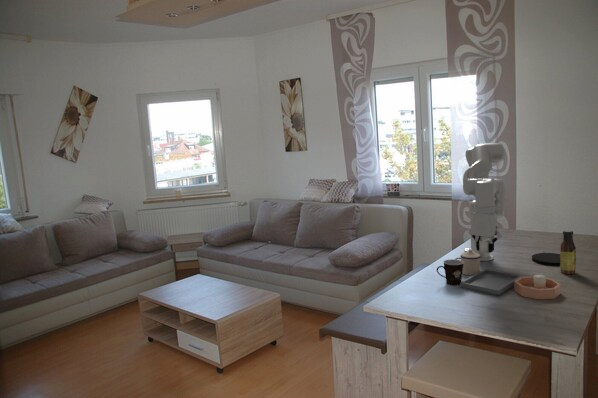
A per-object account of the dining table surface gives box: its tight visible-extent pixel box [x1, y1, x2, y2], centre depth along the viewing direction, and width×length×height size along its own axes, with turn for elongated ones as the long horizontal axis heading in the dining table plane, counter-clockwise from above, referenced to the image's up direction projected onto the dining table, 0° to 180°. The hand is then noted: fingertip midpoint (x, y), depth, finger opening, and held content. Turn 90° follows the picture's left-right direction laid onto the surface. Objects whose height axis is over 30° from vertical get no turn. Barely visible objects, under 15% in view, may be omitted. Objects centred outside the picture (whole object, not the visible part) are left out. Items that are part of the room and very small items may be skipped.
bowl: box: [513, 275, 562, 300], centre depth 189 cm, size 16×16×4 cm
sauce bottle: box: [559, 229, 577, 275], centre depth 208 cm, size 7×6×20 cm
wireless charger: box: [531, 252, 560, 267], centre depth 229 cm, size 18×18×2 cm
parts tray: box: [459, 268, 523, 297], centre depth 201 cm, size 17×24×2 cm
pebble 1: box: [479, 239, 490, 253], centre depth 195 cm, size 5×5×5 cm
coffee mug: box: [436, 258, 464, 287], centre depth 206 cm, size 12×9×10 cm
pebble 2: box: [533, 274, 547, 289], centre depth 191 cm, size 5×5×5 cm
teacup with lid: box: [454, 248, 481, 277], centre depth 218 cm, size 12×9×12 cm
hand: (485, 250), depth 195 cm, fingers closed on pebble 1, 4 cm apart
